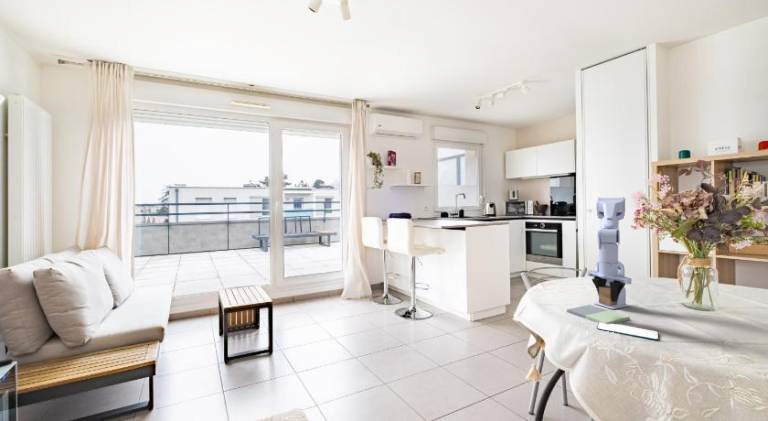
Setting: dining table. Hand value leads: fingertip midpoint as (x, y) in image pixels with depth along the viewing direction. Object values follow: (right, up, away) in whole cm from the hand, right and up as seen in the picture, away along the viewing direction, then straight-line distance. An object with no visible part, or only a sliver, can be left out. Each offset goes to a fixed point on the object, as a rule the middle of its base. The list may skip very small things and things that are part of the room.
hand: (608, 299), depth 122 cm
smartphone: (-1, -8, -11) cm, 14 cm away
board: (-1, -7, +4) cm, 8 cm away
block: (0, -2, 0) cm, 2 cm away
